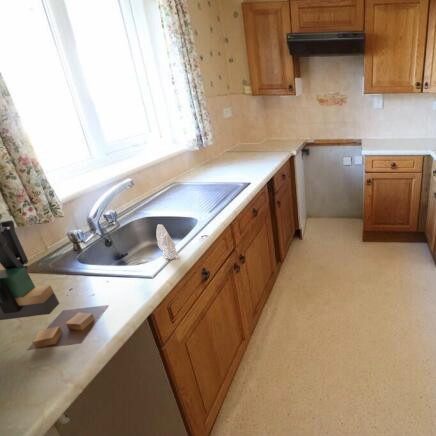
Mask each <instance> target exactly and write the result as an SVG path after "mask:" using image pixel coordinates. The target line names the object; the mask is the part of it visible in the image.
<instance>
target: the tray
mask: <svg viewBox="0 0 436 436" xmlns="http://www.w3.org/2000/svg"><path fill="white" fill-rule="evenodd" d="M109 306H110V305H109V304H106V305H105V304H104V305H96V306H89V307H80V308H70V309H63V310H62V311H61V312H60V313H59V314H58V315H57V316H56V317H55V318H54V320H53V321H51V323H50V324H49V325H48V326H47V327H46V328H45V329H49V328H54V327H58V326H60V328H61V330H62V334H61V336H60V337H59V339H58V341H57V342H56V344H52V345H48V346H44V347H39V348H36V347H35V345H34V344H33V343H32V344H31V345H30V346H29V347H28V348H27V349H26V350H27V351H31V350H39V349H46V348H54V347H63V346H71V345H77V344H78V345H79V344H83V342H84V340H85V339H86V338H87V336H88V335H89V334H90V333H91V331H92V329H93V328H94V327H95V326H96V324H97V322H99V320H100V318H101V317H102V316H103V315H104V313H105V312H106V310H107V309H108V308H109ZM77 313H92V314H93V317H94V320H93V321H92V322H91V323H90V324H89V325H88V326H87V327H86V328H85V329H83V330H70V329H68V327H67V325H66V323H67V322H68V321H69V320H70V319H71V318H73V317H74V316H75V315H76V314H77Z"/></svg>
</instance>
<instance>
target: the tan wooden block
mask: <svg viewBox="0 0 436 436" xmlns="http://www.w3.org/2000/svg"><path fill="white" fill-rule="evenodd" d="M93 320H94V317H93V314H92V313H77V314H76V315H75V316H74V317H73V318H71V319H70V320H69V321H68V322H67V323H66V325H67V327H68V329H70V330H83V329H85V328H86V327H87V326H88V325H89V324H90V323H91V322H92V321H93Z"/></svg>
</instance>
